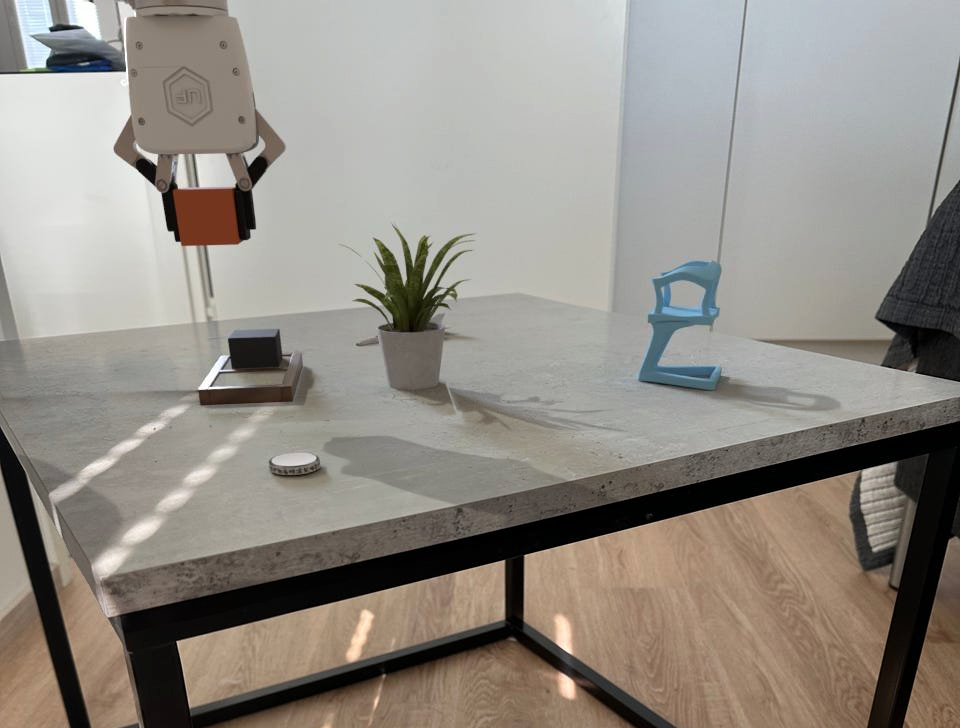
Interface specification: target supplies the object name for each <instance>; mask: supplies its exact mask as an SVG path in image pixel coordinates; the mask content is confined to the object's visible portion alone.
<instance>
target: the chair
mask: <svg viewBox="0 0 960 728" xmlns="http://www.w3.org/2000/svg"><path fill="white" fill-rule="evenodd" d="M722 271H723V270H722V265H721V264H720V263H719V262H717V261H716V260H713V259H712V260H711V261H710V262H709V261H702V260H693V261H688V262H685V263H683V264H681V265H679V266H677V267H675V268H673V269H671V270H667V271H661V272H660V276H658V277H652V278H651V281H652V284H653V289H654V294H655V305H654V308H653V310H652V311H650V312H649V313H647V323H648V324H650V325H651V327H652V335H651V339H650V341H649V345H648V347H647V350H646V353H645V355H644V358H643V360H642V363H641V365H640V368H639V370H638V375H637V381H640V382H641V381H642V382H650V383H658V384H666V385H671V386H679V387H685V388H692V389H699V390H704V391H705V390H706V391H714V389H715V387H716V386H717V383H719V380H720V378H721V376H722V371H723V366H720V365H658V364H659V362H660V360H661V358H662V356H663V353H664V351H665V349H667V348H666V347H667V345H668V344H669V342H670V340H671V338H672V337H673V335H674V333H675V332H676V331H678V330H680V329H684V328H688V327H693V326H696V325H697V326H711V327H712V326H713V324H714V322H715V320H716V319H718V318H719V317H720V311H721V310H720V309H721V306H717V305H716V292H717V289H718V286H719V283H720V279H721V276H722ZM679 281H685V282H690V283H692V284H693V283H694V284H696V285H698V286H699V287H700V288H703V289H704V290H705V291H704V293H703V295H702V297H701V302H700V306H681V305H674V304H671V299H672V298H671V297H672V292H671V291H672V290H671V284H672V283H675V282H679ZM662 288H663V290H662ZM693 376H694V377H693ZM695 376H710V377H709V378H701V377H695Z"/></svg>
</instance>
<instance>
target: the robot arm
mask: <svg viewBox="0 0 960 728" xmlns="http://www.w3.org/2000/svg"><path fill="white" fill-rule="evenodd" d="M114 1H115V3H124V4H125V5H128V6H130V7H131V10H133V11H134V16H126V17H125V18H124V51H125V54H124V55H125V67H126V69H125V70H126V79H127V87H128V97H129V98H128V99H129V107H130V115H129V117H128V119H127V121H126V122H125V125H124V126H123V128H122V130H121V132H120V133H119V136H118V138H117V139H116V141H115V143H114V145H113V152H114V154H116V156H118V157H119V158H120V159H122V160H123V161H124V162H125V163H126V164H128V165H129V166H131V167H133V168H134V169H135V170H136V171H137V173H139V174H141V176H142V177H144V178H145V179H146V180H147V181H148V182H149V183H151V184H152V186H153V187H155V189H156V190H157V192H159V193H161V202H162V206H163V213H164V219H165V225H166V226H165V227H166V230H167V232H169V233H171V232H173V237H174V241H175V243H181V240H180V234H179V227H178V221H177V215H176V208H175V202H174V195H173V190H175V189H179V185H178V183H176V181H177V175H178V166H179V165H178V164H179V157H180V155H210V154H211V155H212V154H213V155H214V154H225V156H226V159H227V161H228V163H229V166H230V169H231V171H232V174H233V176H234V179H235V184H234V187H236V191H235V193H234V201H235V209H236V217H237V225H238V233H239V239H241V240H244V241H249V240H250V239H251V238H252V235H251V231H252V230H257V221H256V213H255V204H254V197H253V189H254V188H255V186H256V185H257V183H258V182H259V181H260V180H261V179H262V177H263V176H264V175H265V173H266V172H267V171H268V169H269V168H270V167H271V166H272V165H274V164H275V162H276V161H278V159H279V158H280V157H281V156H283V154H284V153H285V152H286V151H287V145H286V143H285V141H284V140H283V139H282V137H280V135H279V134H278V133H277V132H276V130H275V129H274V128H273V127H272V125H271V124H270V123H269V122H268V120H266V118H265V117H264V116H263V115H262V114H261V113H260V111H259V110H258V108H257V107H256V98H255V94H254V93H255V92H254V87H253V81H252V75H251V70H250V65H249V61H248V56H247V51H246V47H245V42H244V38H243V35H242V31H241V28H240V24H239V22H238V18H237V17H234V16H230V14H229V4H228V0H114ZM260 138H261V139H262V141H263V142H264V145H265V146H264V149H262V151H261V152H260V153H259V154H258V155H257V156H256V157H255V158H254V159H253V160H252V162H251V163H250V164H249V162H248V160H247V157H246V155H245V153H248V152H250V151H252V150H254V149H256V148H257V147H258V146H259V143H260ZM137 146H138V148H140V149H141V150H142V151H144V152H147V153H149V154H153V155H157V160H156V161H157V162H156V164H155V163H154V162H153V161H152V160H151V159H149V158H147V157H146V156H145V155H143V153H141V152H140V151H139V150H138V148H137Z"/></svg>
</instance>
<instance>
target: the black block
mask: <svg viewBox="0 0 960 728" xmlns="http://www.w3.org/2000/svg"><path fill="white" fill-rule="evenodd" d="M227 344H228V350H229V351H228V352H229V355H230V358H229V360H230V365H231V369H257V368H280V366H281V363H282V361H283V357H284V356H282V353H283V348H282V340H281V331H280V328H261V329H233V331H232V332H231V333H230V334H229V336H228V337H227Z"/></svg>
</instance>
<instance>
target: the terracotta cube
mask: <svg viewBox="0 0 960 728" xmlns="http://www.w3.org/2000/svg"><path fill="white" fill-rule="evenodd" d="M235 191H236V187H235V186H204V187H203V186H199V187H197V186H196V187H180V188H178V189H175V190H173V195H174V202H175V208H176V215H177V221H178V227H179V234H180V240H181V242H180V246H181V247H193V246H194V247H195V246H196V247H197V246H201V247H203V246H233V245H234V246H235V245H236V246H237V245H240V244H241V243H242V242H244V241H245V240H241V239H239V233H238V225H237V217H236V209H235V201H234V193H235Z"/></svg>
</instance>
